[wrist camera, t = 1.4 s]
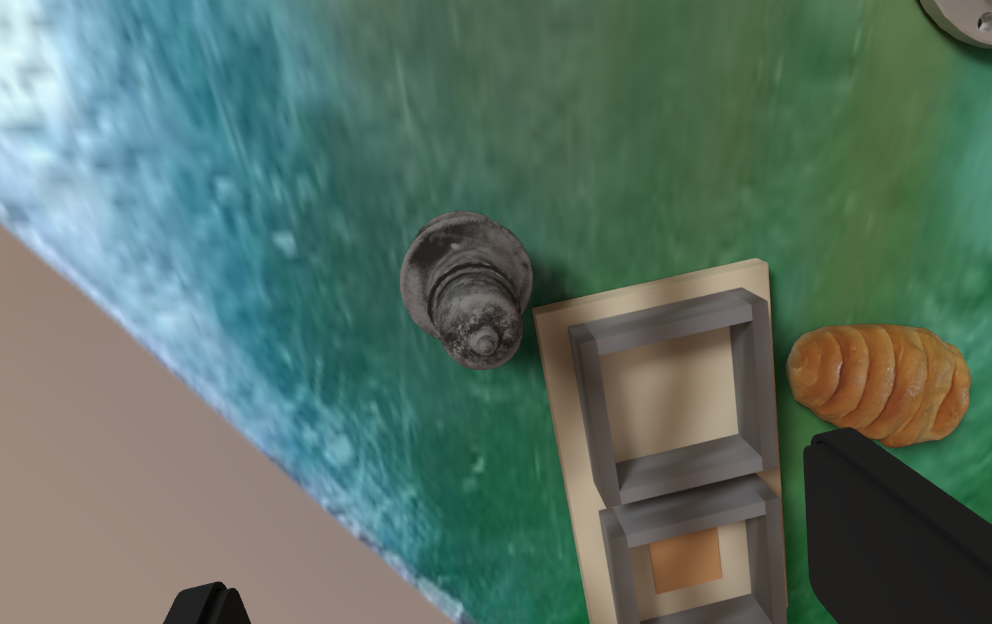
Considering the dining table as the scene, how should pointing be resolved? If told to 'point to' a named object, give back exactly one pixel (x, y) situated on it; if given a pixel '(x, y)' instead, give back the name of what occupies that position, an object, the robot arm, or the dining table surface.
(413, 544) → the dining table surface
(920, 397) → the pastry
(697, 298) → the collar board
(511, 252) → the salt shaker
